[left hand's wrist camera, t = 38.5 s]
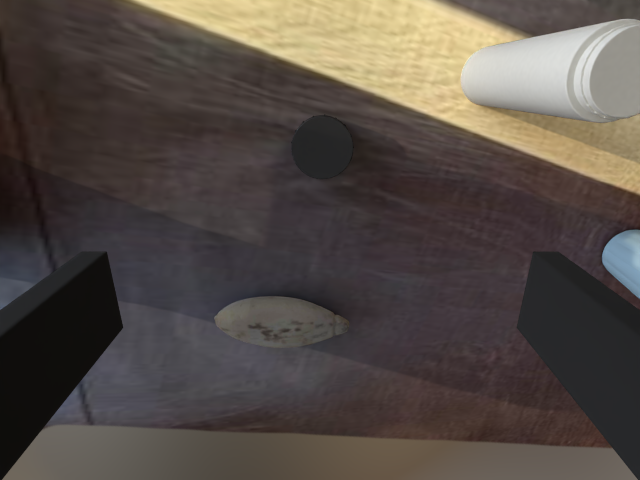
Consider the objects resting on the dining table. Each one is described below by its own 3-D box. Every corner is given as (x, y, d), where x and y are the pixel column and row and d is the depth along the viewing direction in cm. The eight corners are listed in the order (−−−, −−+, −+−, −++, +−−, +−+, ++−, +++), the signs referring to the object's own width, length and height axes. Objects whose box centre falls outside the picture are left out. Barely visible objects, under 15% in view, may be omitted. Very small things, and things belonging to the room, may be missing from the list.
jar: (486, 116, 39) (622, 145, 22) (449, 81, 38) (559, 82, 21) (527, 71, 38) (708, 62, 20) (489, 33, 37) (646, -11, 19)
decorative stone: (346, 338, 49) (348, 356, 46) (220, 333, 49) (213, 351, 45) (350, 295, 47) (352, 310, 43) (217, 289, 46) (210, 305, 43)
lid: (354, 172, 41) (356, 176, 40) (296, 179, 42) (295, 182, 40) (350, 111, 39) (351, 112, 38) (288, 118, 39) (286, 120, 38)
